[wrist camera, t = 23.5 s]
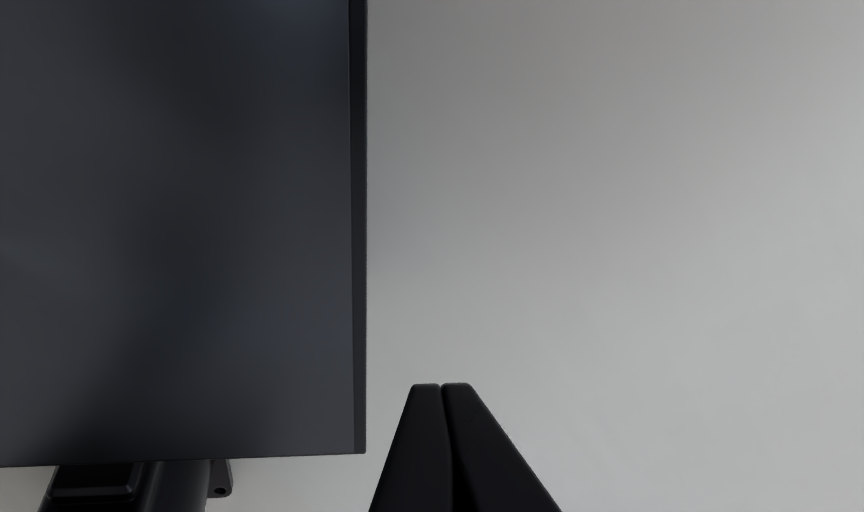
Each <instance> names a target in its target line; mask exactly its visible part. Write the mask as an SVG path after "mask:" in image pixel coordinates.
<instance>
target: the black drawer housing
mask: <svg viewBox="0 0 864 512" xmlns="http://www.w3.org/2000/svg"><path fill="white" fill-rule="evenodd" d="M367 15H368V0H0V468H6V467H32V466H58V465H84V464H110V463H136V462H162V461H188V460H214V459H240V458H266V457H292V456H318V455H343V454H364V453H365V452H366V318H367Z"/></svg>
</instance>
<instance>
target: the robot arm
mask: <svg viewBox="0 0 864 512" xmlns="http://www.w3.org/2000/svg"><path fill="white" fill-rule="evenodd" d="M232 487H233V479H232V474H231V469H230V464H229V459H214V460H188V461H162V462H136V463H110V464H84V465H58V466H56V468H55V470H54V473H53V475H52V478H51V480H50V482H49V485H48V487H47V490H46V492H45V495H44V497H43V499H42V502H41V504H40V507H39V509H38V511H37V512H204V510H205V505H206V500H207V498H222V497H227V496H229V495H230V494H231V493H232ZM368 512H562V511H561V509H560V508H559V507H558V505H557V504H556V503H555V501H554V500H553V498H552V497H551V496H550V494H549V493H548V491H547V490H546V489H545V487H544V486H543V484H542V483H541V482H540V480H539V479H538V478H537V476H536V475H535V473H534V472H533V471H532V469H531V468H530V466H529V465H528V464H527V462H526V461H525V460H524V458H523V457H522V455H521V454H520V453H519V451H518V450H517V448H516V447H515V446H514V444H513V443H512V441H511V440H510V439H509V437H508V436H507V435H506V433H505V432H504V430H503V429H502V428H501V426H500V425H499V423H498V422H497V421H496V419H495V418H494V416H493V415H492V414H491V412H490V411H489V410H488V408H487V407H486V405H485V404H484V403H483V401H482V400H481V398H480V397H479V396H478V394H477V393H476V391H475V390H474V389H473V387H472V386H471V385H470V384H468V383H445V384H443V385H442V386H441V387H440V386H439V385H438V384H435V383H433V384H414V385H413V386H412V387H411V389H410V392H409V395H408V398H407V401H406V404H405V406H404V409H403V412H402V415H401V418H400V421H399V424H398V427H397V430H396V433H395V436H394V439H393V441H392V444H391V447H390V450H389V453H388V456H387V459H386V462H385V465H384V468H383V471H382V473H381V476H380V479H379V482H378V485H377V488H376V491H375V494H374V497H373V500H372V503H371V505H370V508H369V511H368Z"/></svg>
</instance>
